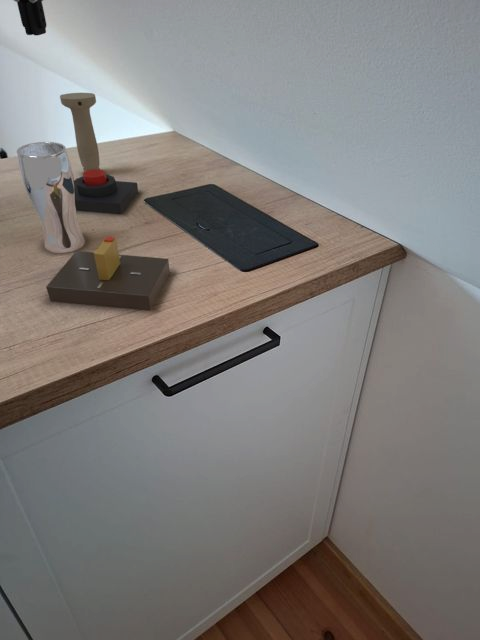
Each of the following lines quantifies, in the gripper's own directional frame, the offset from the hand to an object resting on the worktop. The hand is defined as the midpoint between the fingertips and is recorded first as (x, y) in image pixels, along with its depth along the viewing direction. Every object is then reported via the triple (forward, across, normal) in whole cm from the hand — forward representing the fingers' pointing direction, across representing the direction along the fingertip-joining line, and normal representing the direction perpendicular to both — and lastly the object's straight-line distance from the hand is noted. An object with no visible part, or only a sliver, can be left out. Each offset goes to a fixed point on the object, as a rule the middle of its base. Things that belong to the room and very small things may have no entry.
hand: (36, 33), depth 73 cm
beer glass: (+27, +5, -15) cm, 31 cm away
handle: (+27, -2, +16) cm, 31 cm away
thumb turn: (+24, +16, -26) cm, 39 cm away
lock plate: (+27, +16, -26) cm, 41 cm away
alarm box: (+27, +4, +2) cm, 27 cm away
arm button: (+23, +4, +2) cm, 24 cm away
